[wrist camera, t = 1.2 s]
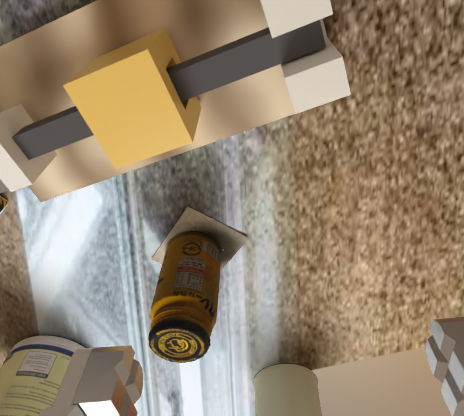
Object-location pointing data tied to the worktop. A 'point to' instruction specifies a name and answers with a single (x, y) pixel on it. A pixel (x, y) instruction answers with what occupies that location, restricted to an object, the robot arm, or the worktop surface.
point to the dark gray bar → (185, 81)
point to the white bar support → (312, 64)
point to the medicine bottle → (3, 204)
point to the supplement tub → (34, 374)
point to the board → (115, 36)
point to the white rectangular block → (18, 152)
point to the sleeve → (135, 101)
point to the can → (286, 391)
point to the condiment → (189, 285)
